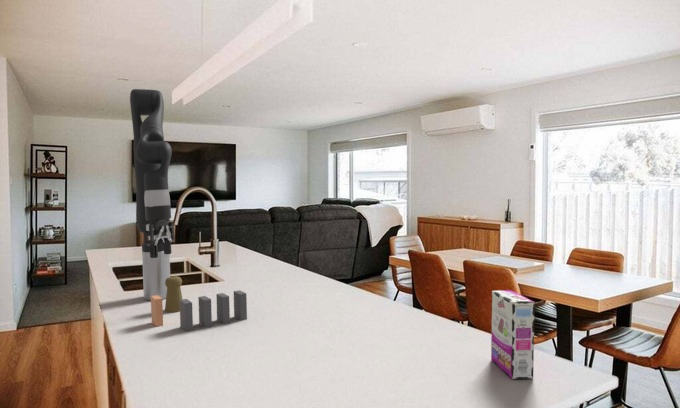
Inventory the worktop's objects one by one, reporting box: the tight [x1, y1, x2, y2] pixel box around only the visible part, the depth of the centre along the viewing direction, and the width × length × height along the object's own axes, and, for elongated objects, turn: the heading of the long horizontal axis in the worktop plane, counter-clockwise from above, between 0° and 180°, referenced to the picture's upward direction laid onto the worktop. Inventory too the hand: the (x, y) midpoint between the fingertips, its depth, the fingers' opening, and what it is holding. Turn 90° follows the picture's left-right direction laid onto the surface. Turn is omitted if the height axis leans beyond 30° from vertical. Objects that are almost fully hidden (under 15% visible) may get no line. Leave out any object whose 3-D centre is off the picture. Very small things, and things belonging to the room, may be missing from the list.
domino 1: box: [179, 298, 194, 333], centre depth 133 cm, size 5×2×8 cm, turn 36°
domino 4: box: [233, 289, 248, 321], centre depth 143 cm, size 5×2×8 cm, turn 36°
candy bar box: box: [490, 289, 536, 380], centre depth 102 cm, size 11×5×16 cm, turn 5°
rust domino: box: [150, 295, 164, 327], centre depth 138 cm, size 5×2×8 cm, turn 36°
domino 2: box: [197, 295, 213, 329], centre depth 136 cm, size 5×2×8 cm, turn 36°
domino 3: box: [216, 292, 231, 325], centre depth 140 cm, size 5×2×8 cm, turn 36°
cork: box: [164, 275, 184, 314], centre depth 153 cm, size 6×6×11 cm
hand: (161, 255), depth 147 cm, fingers open, 8 cm apart
